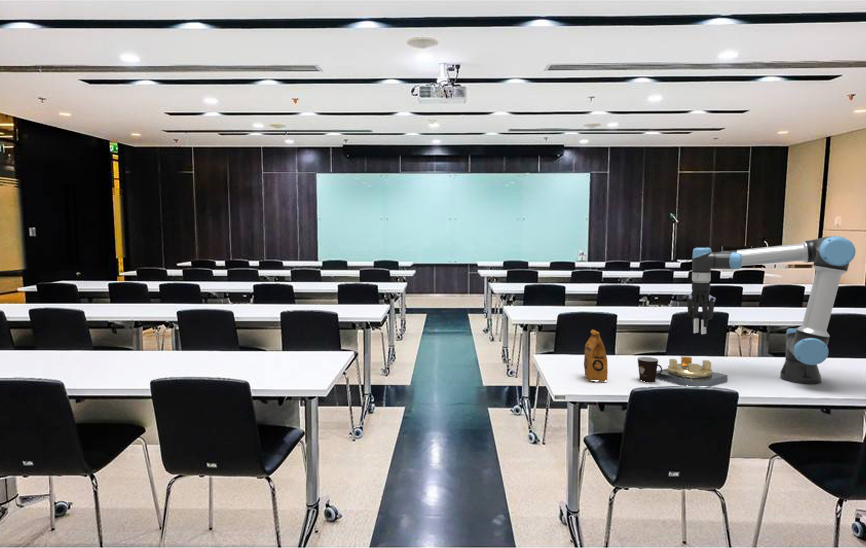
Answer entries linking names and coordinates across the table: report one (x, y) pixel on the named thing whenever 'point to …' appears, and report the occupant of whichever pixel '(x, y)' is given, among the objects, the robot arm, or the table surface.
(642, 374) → the coffee mug
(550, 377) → the table surface
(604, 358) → the coffee package
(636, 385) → the table surface
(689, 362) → the lathe chuck
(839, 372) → the table surface
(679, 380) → the housing
